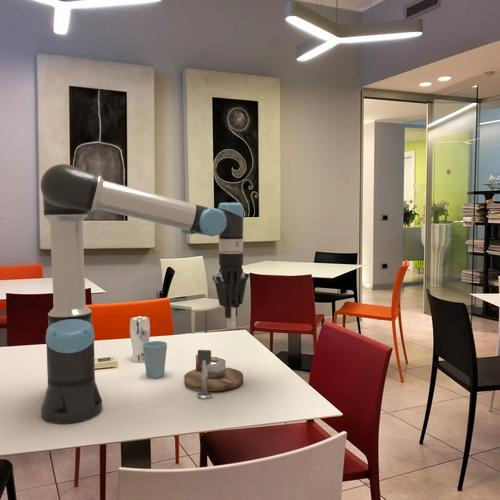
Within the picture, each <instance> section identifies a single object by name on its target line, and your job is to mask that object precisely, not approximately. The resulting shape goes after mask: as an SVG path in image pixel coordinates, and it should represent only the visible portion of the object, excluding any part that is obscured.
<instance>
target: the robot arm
mask: <svg viewBox="0 0 500 500" xmlns="http://www.w3.org/2000/svg"><path fill="white" fill-rule="evenodd" d="M40 191H41V194H42V202H43V203H42V205H43V216H44V218H45V219H46V220H48V221H49V228H50V229H49V230H50V231H49V232H50V233H49V234H50V253H51V254H50V256H51V257H50V258H51V278H52V280H51V281H52V297H53V298H52V300H53V302H52V303H53V307H52V309H50V311H49V312H48V313H47V318H48V319H47V320H48V322H47V323H48V327H47V329H46V333H45V343H46V367H47V368H46V369H47V370H46V371H47V374H46V375H47V387H46V391H45V394H44V397H43V399H42V404H41V408H40V413H41V419H42V420H44V421H45V422H48V423H51V424H52V423H53V424H72V423H73V424H74V423H79V422H83V421H86V420H89V419H92V418H95V417H97V416H98V415H100V413H102V412H103V400H102V398H103V397H101V393H100V390H99V389H98V385H97V383H96V373H95V372H96V371H95V370H96V369H95V368H96V367H95V366H96V365H95V364H96V363H95V335H96V334H95V330H94V329H95V328H94V326H93V316H92V315H93V314H92V309H90V308H89V307H88V306H87V305H86V303H87V302H86V280H85V277H86V276H85V257H84V256H85V255H84V254H85V252H84V228H83V227H84V226H83V225H84V224H83V222H84V220H85V219H86V218H87V217H88V216H89V215H88V214H89V212H93V211H95V210H101V211H105V212H109V213H113V214H118V215H123V216H127V217H131V218H134V219H138V220H139V219H140V220H143V221H147V222H150V223H151V222H152V223H156V224H161V225H163V226H164V225H165V226H169V227H173V228H176V229H180V232H181V233H182V234H184V235H185V234H186V235H205V236H208V237H215V236H218V252H220V253H219V254H218V265H219V270H218V274H216V275H213V276H212V280H213V282H214V283H215V288H216V295H217V299H218V304H219V306H221V307H223V308H224V317H225V318H226V328H227V329H231V330H233V329H236V328H237V327H236V326H237V322H236V320H237V319H236V318H237V317H238V308H240V306H241V305H243V302H244V297H245V291H246V287H247V281H248V278H249V277H250V274H249V273H245V272H244V270H243V265H244V254H243V253H242V252H243V251H244V207H243V205H242V204H241V202H220V203H219V204H218V207H217V208H215V207H207V206H204V205H200V204H196V203H191V202H189V201H184V200H179V199H176V198H173V197H169V196H165V195H161V194H158V193H153V192H149V191H145V190H142V189H140V188H139V189H138V188H136V187H135V188H134V187H130V186H126V185H123V184H118V183H115V182H111V181H108V180H107V181H106V180H105V179H103V177H102V175H99V174H96V173H93V172H90V171H86V170H83V169H81V168H79V167H77V166H74V165H70V164H67V163H61V164H60V163H59V164H56V165H53V166H51V167H49V168H48V169H47V170H46V171H45V172H44V173H43V175H42V177H41V180H40ZM88 211H89V212H88Z"/></svg>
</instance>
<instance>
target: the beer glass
mask: <svg viewBox="0 0 500 500" xmlns="http://www.w3.org/2000/svg"><path fill="white" fill-rule="evenodd" d="M129 319H130V322H129V336H130V337H129V338H130V343H131V346H132V355H131V362H133V363H145V360H144V351H143V343H146V342H150V337H151V336H150V335H151V325H150V324H151V323H150V317H148V316H133V317H131V318H129Z"/></svg>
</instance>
